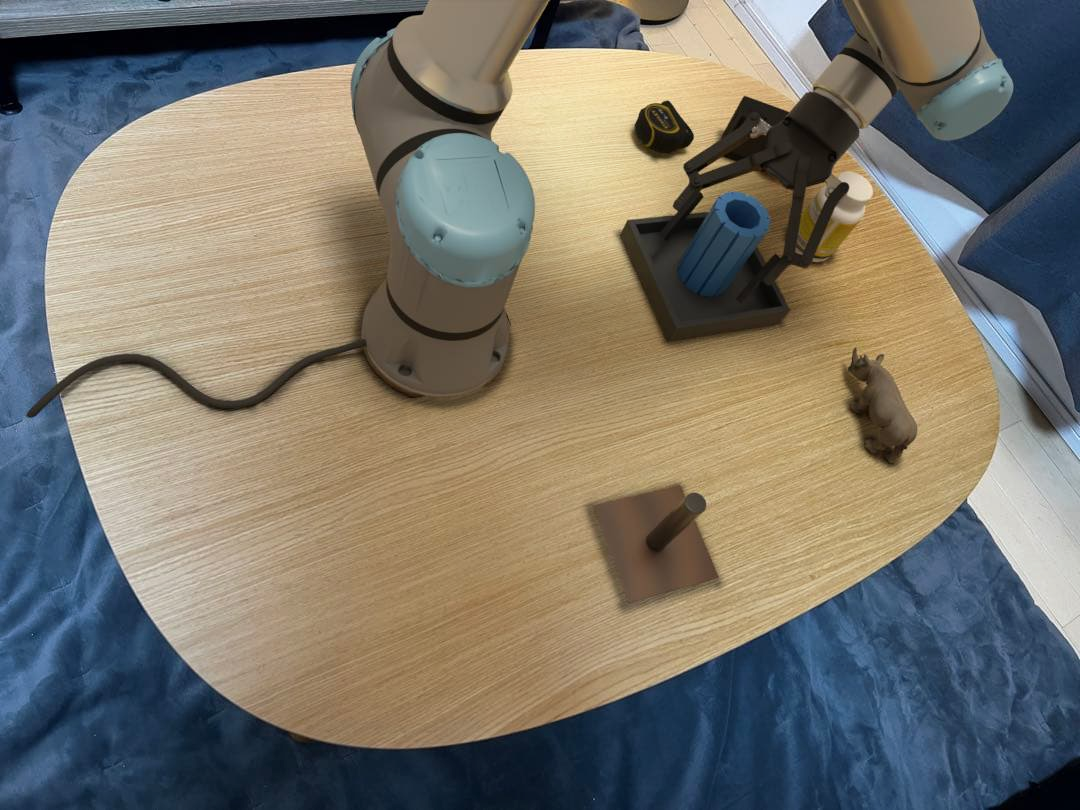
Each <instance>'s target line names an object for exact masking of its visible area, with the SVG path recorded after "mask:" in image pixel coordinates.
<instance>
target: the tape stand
mask: <svg viewBox="0 0 1080 810" xmlns="http://www.w3.org/2000/svg"><path fill="white" fill-rule="evenodd" d="M592 508H593V511H594V513H595V517H596V518H597V521H598V525H599V527H600V530H601V532H602V535H603V538H604V541H605V543H606V546H607V549H608V551H609V554H610V557H611V559H612V562H613V565H614V568H615V571H616V573H617V576H618V579H619V581H620V583H621V587H622V591H623V592H624V595H625V597H626V600H627V603H628V604H631V603H634V602H638V601H641V600H645V599H648V598H652V597H655V596H658V595H663V594H666V593H669V592H673V591H676V590H681V589H683V588H684V589H685V588H688V587H691V586H694V585H698V584H702V583H706V582H708V581H712V580H716V579H719V577H720V576H719V575H718V572H717V570H716V568H715V564H714V563H713V560H712V558H711V556H710V553H709V550H708V548H707V546H706V543H705V541H704V539H703V537H702V533H701V531H700V529H699V527H698V524H697V522H696V519H697V518H699V517H700V516H701V515H702V514H703V513H704V512H705V511H706V509H707V501H706V499H705V497H704V496H703V495H702V494H701V493H698V492H689V493H688V494H687V495H685V493H684V490H683V489H682V485H675V486H672V487H668V488H663V489H660V490H655V491H651V492H647V493H642V494H637V495H633V496H630V497H625V498H621V499H616V500H612V501H608V502H603V503H600V504H595V505H592Z"/></svg>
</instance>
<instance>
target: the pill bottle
mask: <svg viewBox="0 0 1080 810" xmlns="http://www.w3.org/2000/svg"><path fill="white" fill-rule="evenodd" d="M836 178H838V179H839V180H840V181H841V182H846V183H848V184H849V191H848V193H847V195H846V196H845V197H844V198H843V199H842V200H841V201H840V203H839V204H838V205H837V206H836V207H835V209H834V212H833V214H832V216H831V219H830V221H829V223H828V225H827V228H826V230H825V232H824V235H823V237H822V239H821V242H820V244H819V246H818V249H817V251H816V253H815V256H814V258H813V260H812V263H813V262H814V263H821V262H825V261H827V260H828V259H829V258H830V257H831V256H832V255H833V254H834V253H835V252H836V251H837V249H838V248H840V246H841V245H842V243H843V242H844V241H845V240H846V238H848V236H849V235H850V234H851V233H852V232H853V230H854V229H855V228H856V227H857V226H858V224H859V223H860V222H861V220H862V219H863V217H864V216H865V214H866V213H865V212H866V205H867V204H868V203H869V201H870V200H871V199H872V198H873V195H874V189H873V186H872V184H871V182H870V181H869V180H868V179H867V178H866V177H865V176H863V175H862V174H859V173H858V172H854V171H851V170H850V171H849V170H845V171H842V172H841V173H839V174H838V175H837V176H836ZM826 188H827V185H826V184H825V185H823V186H822V187H821V188H820V189H819V190H818V192H817V193H816V195H815V196H814V197H813V199H812V200H811V201H810V203H809V204H808V205H807V206H806V208H805V209H804V211H802V214H801V220H800V226H799V232H798V238H797V244H796V250H795V253H798V254H801V255H802V254H803V252H804V250H805V247H806V245H807V243H808V240H809V238H810V236H811V233H812V231H813V229H814V226H815V224H816V222H817V219H818V217H819V215H820V212H821V210H822V208H823V205H824V203H825V201H826V199H827V197H826V196H825V190H826Z"/></svg>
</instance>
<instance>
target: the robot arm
mask: <svg viewBox="0 0 1080 810" xmlns="http://www.w3.org/2000/svg"><path fill="white" fill-rule="evenodd" d="M550 1H551V0H428V2H427V4H426V6H425V7H424V10H423V13H422V14H419V15H411V16H408V17H406V18H404V19H402V20H401V21H400V22H399V23H398V24H397V26H396V27H394V28H392V29H390V30H388V31H387V32H386V36H385V37H382V38H380V37H376V38H374V39H373V40H372V41H371V42H370V43H369V44H367V46H366V47H365V48H364V49H363V51H362V52H361V53H360V55H359V57H358V58H357V60H356V63H355V64H354V67H353V70H352V75H351V78H350V97H351V98H350V100H351V110H352V117H353V121H354V125H355V127H356V131H357V133H358V134H359V137H360V140H361V143H362V146H363V150H364V153H365V156H366V159H367V163H368V167H369V169H370V173H371V176H372V180H373V183H374V186H375V190H376V192H377V196H378V199H379V202H380V207H381V210H382V213H383V217H384V221H385V223H386V226H387V230H388V235H389V241H390V250H389V251H390V252H389V259H388V267H387V274H386V277H385V278H384V280H383V282H381V284H380V285H379V286H378V288H376V289H375V290H374V292H373V293H372V295H371V296H370V298H369V300H368V302H367V304H366V305H365V309H364V310H363V311H364V312H363V315H362V321H361V329H360V331H361V332H360V339H359V340H356V341H351V342H350V343H349V342H348V343H345V344H342V345H339V346H337V347H332V348H327V349H323V350H320V351H318V352H315V353H312V354H310V355H308V356H306V357H304V358H302V359H300V360H299V361H296V363H294V364H293V365H291V366H290V367H289V368H288V369H286V371H284V372H283V373H282V374H281V375H280V376H278V378H276V379H275V380H274V381H273V382H271V384H269V385H268V386H267V387H265V388H264V389H263V390H262V391H260V392H258V393H256V394H255V395H252V396H250V397H246V398H243V399H236V400H222V399H218V398H215V397H211V396H210V395H207V394H205V393H203V392H202V391H200V390H199V389H197V388H196V387H195V386H193V385H192V384H191V383H189V382H188V381H187V380H186V379H185V378H183V377H182V376H181V375H180V374H179V373H178V372H177V371H175V370H174V369H173V368H171V367H170V366H168V365H167V364H166V363H164V362H162V361H161V360H158V359H156V358H154V357H151V356H149V355H144V354H141V353H140V354H139V353H120V354H113V355H109V356H104V357H100V358H97V359H95V360H93V361H90V362H88V363H86V364H84V365H81V366H80V367H78V368H76V369H75V370H74V371H72V372H71V373H69V374H68V375H66V376H65V377H64V378H63V379H62V380H59V382H58V383H56V384H55V385H54V386H53V387H52V388H51V389H50V390H49V391H47V392H46V393H45V394H44V395H43V396H42V397H41V398H40V399H39V400H38V401H37V402H35V404H34V405H32V406H31V408H30V409H29V410H28V411H27V412H26V414H25V416H26V417H27V419H32V418H35V417H36V416H38V415H39V413H40V412H41V411H42V410H44V409H45V408H46V407H47V406H48V405H49V404H50V403H51V402H52V401H53V400H54V399H55V398H56V397H57V396H58V395H60V394H61V392H63V391H64V390H65V389H66V388H67V387H69V386H70V385H71V384H72V383H74V382H75V381H77V380H78V379H80V378H81V377H83V376H84V375H86V374H88V373H90V372H92V371H94V370H95V369H98V368H101V367H104V366H107V365H111V364H115V363H123V362H137V363H142V364H146V365H149V366H152V367H154V368H155V369H157V370H159V371H160V372H162V373H163V374H165V375H166V376H167V377H169V378H170V379H171V380H172V381H174V382H175V384H177V385H178V386H179V387H181V389H183V390H184V391H185V392H186V393H188V394H189V395H191V397H194V398H195V399H197V400H198V401H200V402H203V403H204V404H206V405H209V406H213V407H216V408H220V409H239V408H245V407H248V406H252V405H255V404H257V403H259V402H261V401H263V400H265V399H266V398H268V397H269V396H271V395H272V394H273V393H274V392H276V390H278V389H279V388H280V387H282V386H283V384H285V383H286V382H287V381H288V380H289V379H290V378H291V377H292V376H294V375H295V374H296V373H298V372H299V371H301V370H302V369H303V368H305V367H306V366H308V365H311V364H312V363H314V362H317V361H319V360H322V359H326V358H329V357H333V356H337V355H341V354H344V353H347V352H350V351H354V350H358V349H360V348H362V350H363V353H364V356H365V357H366V359H367V360H366V361H367V362H368V363H369V366H370V367H371V368H372V369H373V371H374V372H375V373H376V374H377V375H378V376H379V378H381V379H382V380H383V381H384V383H386V384H387V385H389V386H390V387H392V388H393V389H396V391H398V392H400V393H402V394H404V395H407V396H410V397H412V398H416V399H419V398H423V397H425V398H426V397H427V398H432V399H450V398H456V397H462V396H465V395H469V394H471V393H474V392H476V391H478V390H480V389H481V388H484V387H487V386H489V385H490V384H491V383H492V382H493V381H494V379H496V377H497V376H498V375H499V373H500V371H501V369H502V367H503V364H504V362H505V360H506V357H507V354H508V351H509V345H510V344H509V343H510V329H509V327H510V328H512V324H511V320H510V318H509V315H508V313H507V311H506V305H507V302H508V299H509V296H510V294H511V292H512V291H511V290H512V288H513V285H514V282H515V279H516V277H517V274H518V271H519V269H520V265H521V263H522V260H523V258H524V257H525V255H526V253H527V252H528V250H529V247H530V242H531V239H532V234H533V230H534V229H533V228H534V221H535V213H536V201H535V193H534V189H533V187H532V186H533V185H532V183H531V181H530V177H528V174H527V172H526V170H525V169H524V168H523V166H522V164H521V163H520V162H519V161H518V160H517V159H516V157H514V156H513V154H511V153H510V152H504V153H503V152H501V151H500V146H499V144H498V143H496V142H494V141H493V139H492V132H493V129H494V127H495V126H496V124H497V122H498V121H499V119H500V118H501V116H502V114H503V113H504V110H505V109H506V108H507V106H508V104H509V103H510V101H511V99H512V96H513V83H512V79H511V76H510V73H509V70H510V68H511V66H512V64H513V63H514V61H515V59H516V58H517V56H518V55H519V54H520V53H519V52H520V51H521V50H522V48H523V46H524V44H525V43H526V41H527V39H528V37H529V36H530V34H531V32H532V31H533V29H534V28H535V26H536V24H537V23H538V21H539V19H540V18H541V16H542V14H543V12H544V11H545V10H546V7H547V5H548V4H549V2H550ZM841 2H842V4H843V5H844V8H845V10H846V11H847V12H846V13H847V14H848V16H849V18H850V20H851V24H852V27H853V29H854V31H855V33H854V34H853V35H852V36H851V38H850V39H849V41H848V42H847V43H846V44H845V45H844V47H843V48H842V49H841V50H840V52H839V53H838V54H837V55H836V56H835V57H834V58H833V60H831V62H830V63H829V64H828V66H827V67H825V69H824V70H823V71H822V72H821V74H820V75H819V76H818V77H817V79H816V80H814V82H813V84H812V91H807V92H805V93H804V94H803V95H802V97H800V99H799V100H798V101H797V102H796V104H795V105H794V106H793V107H792V109H790V111H788V112H789V113H788V115H787V116H786V117H785V118H784V119H783V120H782V121H781V122H780V123H779V124H777V125H775V126H773V127H772V126H770V125H769V124H768V123H766V122H765V121H764V120H762V119H761V118H760V115H759V113H757V112H752V113H751V114H750V115H749V116H748V117H747V119H746V120H745V121H744V122H743V124H742V125H741V126H740V127H739V128H738V129H736V130H734V131H733V132H731V133H730V134H728V135H727V136H725V137H724V138H722V137H721V138H720V139H719V140H717V141H716V142H715V143H713V144H712V145H710V146H709V147H707V148H705V149H704V150H703V151H700V152H699V153H698V154H697V155H695V156H693V157H692V158H690V159H689V160H687V161H685V163H683V167H682V168H683V170H684V172H685V173H686V176H687V177H688V180H689V181H688V184H687V185H686V187H685V188H684V190H683V191H682V192H680V194H679V195H678V197H677V198H675V200H674V202H673V204H672V208H673V209H674V210H675V211H676V213H674V214H673V215H674V217H673V218H672V219H671V220H670V221H669V223H668V224H667V225H666V226H665V227H664V229H663V230H662V231H661V232H660V234H659V235H660V236H661V237H662V238H663V239H665V240H666V241H668V239H669V238H670V237H671V236H672V235H673V233H674V232H675V231H676V230H677V229H678V227H679V226H680V225H681V224H682V223H683V221H684V220H685V219H686V218H687V217H688V215H689V214H691V213H692V212H693V211H694V209H695V208H696V207H697V206H698V205H699V203H700V202H701V201H702V200H703V199H704V197H705V196H704V194H703V192H702V190H704V189H707V188H711V187H713V186H716V185H718V184H721V183H724V182H727V181H729V180H733V179H735V178H739V177H741V176H744V175H747V174H749V173H753V172H757V171H762V170H761V169H764V168H765V170H766V171H765V173H766V174H767V175H768V176H769V177H771V178H772V179H776V180H778V182H779V183H780V185H781V186H782V187H783V188H784V189H786V190H790V191H793V192H792V197H791V203H790V210H789V216H788V223H787V228H786V234H785V241H784V247H783V253H782V255H781V256H780V255H778V254H777V253H776V252H774V253H773V255H772V256H771V257H770V258H769V259H768V261H766V264H765V265H764V266H763V268H762V269H761V270H760V271H759V272H758V273H757V274H756V276H755V277H754V278H753V279H752V280H751V281H750V282H749V284H748V285H747V286H746V287H745V288H744V289H743V290H742V292H741V293H740V294H739V295H738V296H737V297H736V298H735V299H736V300H738V301H739V302H740V303H741V304H742V303H743V302H744V301H745V300H746V299H747V297H748V296H749V295H750V294H751V293H752V292H753V291H754V290H755V288H756V287H757V286H758V285H759V284H760V283H761V282H762V281H763V282H764V283H765V284H766V285H767V286H769V285H771V284H773V283H774V282H775V281H776V282H777V279H779V278H780V276H781V275H782V274H783V273H784V272H785V270H786V269H787V268H788V267H790V266H795V267H798V268H800V269H803V270H806V269H809V268H810V267H811V265H812V263H813V261H812V260H813V258H814V256H815V253H816V251H817V249H818V246H819V244H820V242H821V239H822V237H823V235H824V232H825V230H826V228H827V225H828V223H829V221H830V219H831V216H832V214H833V212H834V209H835V207H836V206H837V205H838V204H839V203H840V201H841V200H842V199H843V198H844V197H845V196H846V195H847V193H848V191H849V184H848V183H846V182H841V181H840V180H839V179H838V178H837V176H835V175H834V174H833V169H834V167H835V165H836V164H837V162H839V160H840V159H841V158H842V157H843V156H844V155H845V153H847V151H848V150H849V149H850V148H851V147H852V146H853V144H854V143H855V142H856V141H857V140H858V139H859V137H860V129H861V130H863V129H867V128H868V127H869V126H870V125H871V124H872V122H873V121H874V120H875V119H876V118H877V117H878V115H880V114H881V112H882V111H883V110H884V108H885V107H886V106H887V105H888V104H889V103H890V102H891V100H892V99H893V97H894V96H895V95H896V94H897V93H898V92H899V91H900V92H901V94H902V95H903V97H904V98H905V100H906V102H907V103H908V104H909V106H910V108H911V109H912V111H913V113H914V114H915V117H916V119H917V120H918V121H920V122H921V123H922V125H923V126H924V127H925V129H926V130H927V131H928V132H929V134H930V135H931V136H932V137H933V138H934V139H937V140H940V141H945V142H946V141H956V140H959V139H962V138H966V137H967V136H970V135H972V134H974V133H976V132H977V131H978V130H980V129H982V128H983V127H985V126H986V125H988V124H989V123H991V122H992V121H993V120H994V119H996V118H997V117H998V116H999V115H1000V114H1001V113H1002V111H1004V109H1005V108H1006V106H1007V105H1008V104H1009V102H1010V100H1011V98H1012V95H1013V93H1014V83H1013V79H1012V78H1011V76H1010V74H1009V73H1008V71H1007V70H1006V68H1005V67H1004V61H1003V60H1002V59H1001V58H998V56H997V55H996V54H995V52H994V51H993V50H992V48H991V46H990V45H989V43H988V41H987V39H986V38H987V37H986V36H985V32H984V29H983V26H982V23H981V21H980V20H979V15H978V12H977V9H976V6H975V3H974V0H841ZM760 135H765V136H766V141H765V150H764V151H761V152H758V153H755V154H753V155H751V156H749V157H747V158H744V159H741V160H739V161H736V160H735V161H733V162H730V163H727V164H725V165H722V166H720V167H717V168H714V169H711V170H709V171H705V172H703V173H700V172H701V171H703V170H704V169H706V168H707V167H709V166H711V165H712V164H714V163H715V162H717V161H718V160H719V159H721V158H723V157H725V156H724V155H726V154H727V153H729V152H730V151H732V150H733V149H735V148H736V147H738V146H740V145H741V144H743V143H744V142H745V141H747V140H748V139H749V138H750V137H751V138H757V137H758V136H760ZM823 183H825V185H827V188H826V190H825V196H826V197H827V199H826V201H825V203H824V205H823V208H822V210H821V212H820V215H819V217H818V219H817V222H816V224H815V226H814V229H813V231H812V233H811V236H810V238H809V240H808V243H807V245H806V247H805V250H804V252H803V254H802V255H801V254H798V253H796V252H795V250H796V244H797V238H798V232H799V226H800V220H801V215H802V214H803V207H804V203H805V195H806V190H807V188H808V187H813V186H816V185H819V184H823Z"/></svg>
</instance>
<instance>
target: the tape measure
mask: <svg viewBox="0 0 1080 810" xmlns="http://www.w3.org/2000/svg"><path fill="white" fill-rule="evenodd" d="M634 132H635V135H636V137H637V139H638V141H639V142H640V143H641V144H642V145H643V146H644V147H645V148H646V149H648V150H649V151H651V152H653V153H657V154H661V155H662V154H664V155H668V154H672V153H674V152H676V151H678V150H681V149H686V148H688V147H690V146H691V145H692V143H693V142H694V139H695V134H694V131H693V130H692V129H691V127H690V126H689V124H688V123H687V122H686V121H685V120H684V119H683V117H682V116H681V114H680V113H679V112H678V111H677V109H676V107H675V106H674V105H673V103H672V102H671V101H670V100H668V99H666V100H663V101H661V103H660V102H652V103H650V104H647V105H646V106H645V107H643V108H641V109H640V111H639V112H638V117H637V119H636V121H635V124H634Z"/></svg>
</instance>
